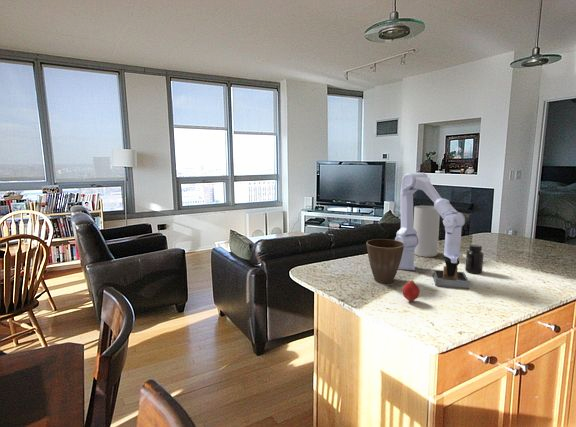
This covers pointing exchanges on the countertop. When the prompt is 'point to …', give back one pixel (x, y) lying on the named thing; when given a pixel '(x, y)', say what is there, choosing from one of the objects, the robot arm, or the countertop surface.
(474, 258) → the supplement bottle
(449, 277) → the tan wooden brick
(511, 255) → the countertop surface
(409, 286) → the onion
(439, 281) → the square metal tray
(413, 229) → the robot arm
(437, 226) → the cylinder vase
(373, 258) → the plant pot
